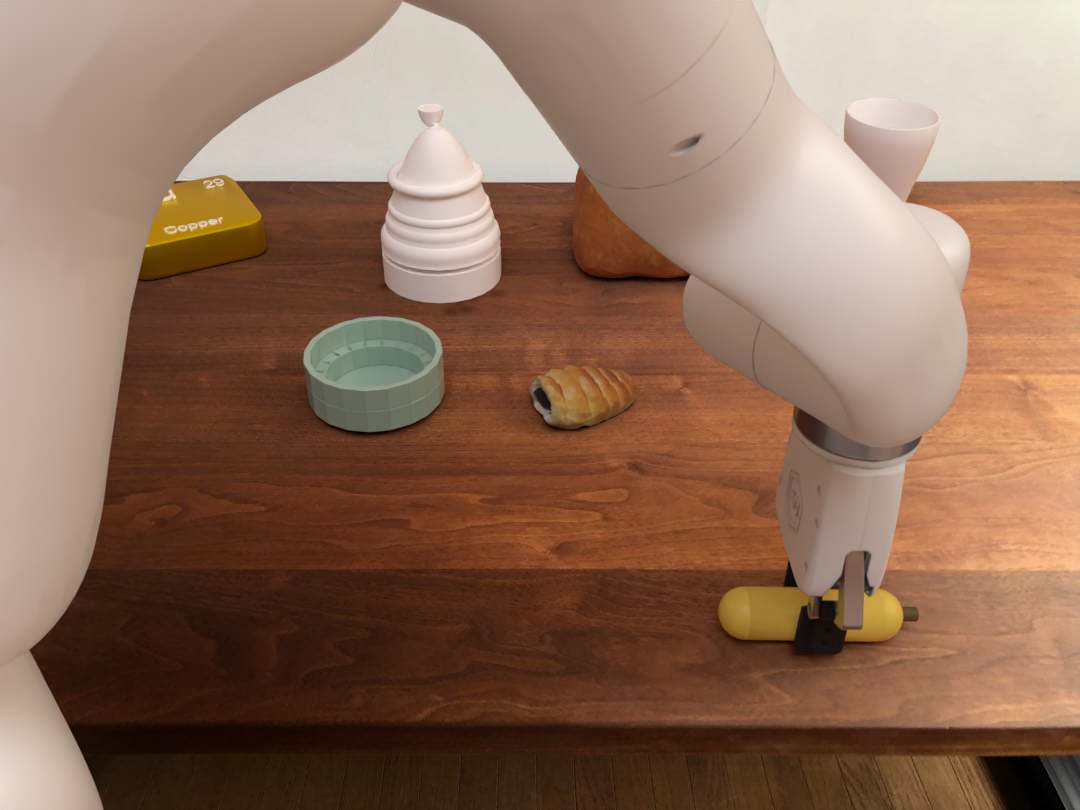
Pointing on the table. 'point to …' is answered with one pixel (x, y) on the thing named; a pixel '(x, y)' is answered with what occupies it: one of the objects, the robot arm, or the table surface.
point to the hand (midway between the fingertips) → (810, 624)
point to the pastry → (581, 395)
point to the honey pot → (439, 221)
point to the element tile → (202, 228)
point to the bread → (612, 240)
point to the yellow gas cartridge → (779, 611)
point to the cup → (892, 138)
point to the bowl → (374, 373)
